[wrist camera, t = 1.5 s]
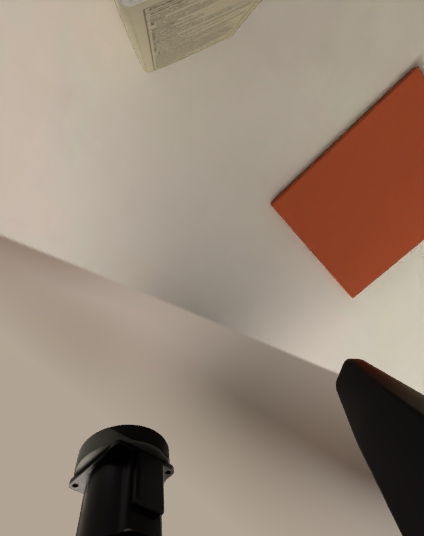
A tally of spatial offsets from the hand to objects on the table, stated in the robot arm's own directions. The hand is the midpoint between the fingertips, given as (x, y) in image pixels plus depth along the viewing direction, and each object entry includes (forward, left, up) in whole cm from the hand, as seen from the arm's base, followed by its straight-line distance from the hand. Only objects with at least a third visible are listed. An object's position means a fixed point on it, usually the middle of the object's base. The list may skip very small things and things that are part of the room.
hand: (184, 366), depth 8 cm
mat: (+11, -9, -13) cm, 19 cm away
